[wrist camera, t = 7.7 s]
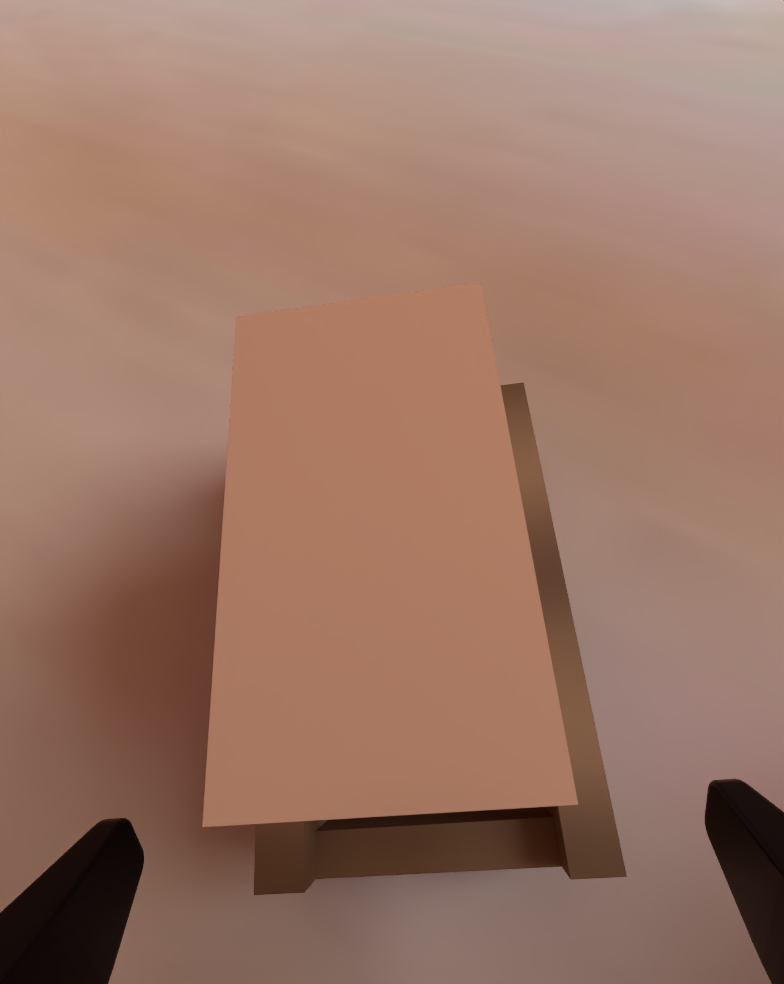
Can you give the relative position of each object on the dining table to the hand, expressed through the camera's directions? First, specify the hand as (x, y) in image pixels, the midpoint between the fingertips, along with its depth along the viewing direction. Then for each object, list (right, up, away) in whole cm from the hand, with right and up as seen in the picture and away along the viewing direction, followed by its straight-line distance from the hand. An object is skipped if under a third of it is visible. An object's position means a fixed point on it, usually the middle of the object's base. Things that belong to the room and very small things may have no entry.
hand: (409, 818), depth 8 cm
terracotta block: (+1, +1, +9) cm, 9 cm away
